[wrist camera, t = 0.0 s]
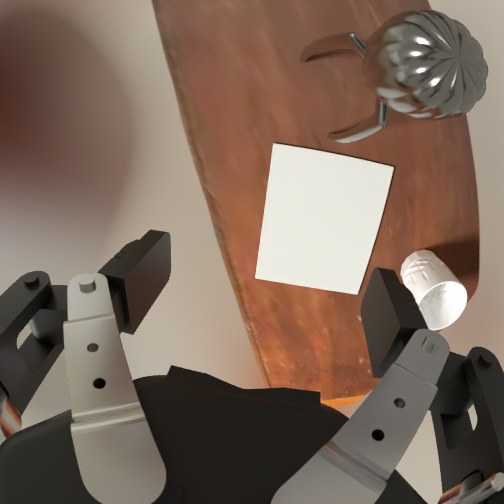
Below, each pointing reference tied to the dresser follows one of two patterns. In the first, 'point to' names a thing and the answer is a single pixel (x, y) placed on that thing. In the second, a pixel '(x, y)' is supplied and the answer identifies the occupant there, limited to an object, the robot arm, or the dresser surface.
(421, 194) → the dresser surface
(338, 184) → the mat
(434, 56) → the juicer
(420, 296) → the white cup
